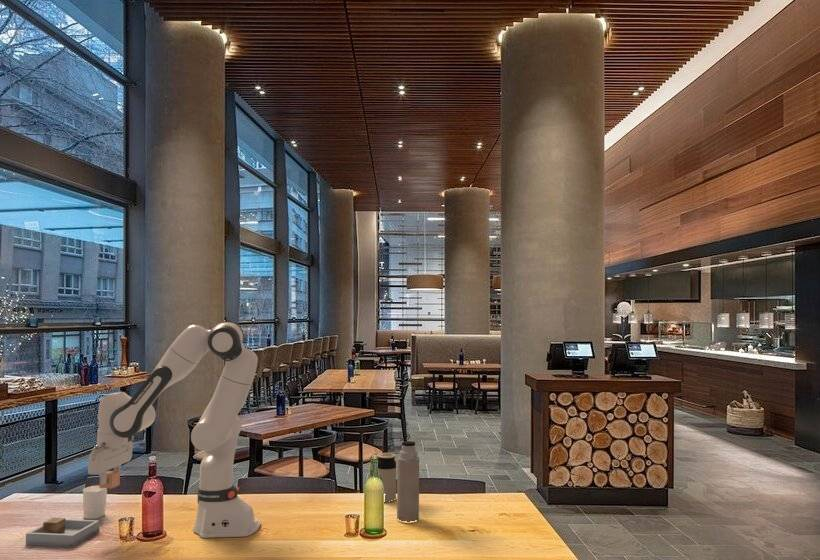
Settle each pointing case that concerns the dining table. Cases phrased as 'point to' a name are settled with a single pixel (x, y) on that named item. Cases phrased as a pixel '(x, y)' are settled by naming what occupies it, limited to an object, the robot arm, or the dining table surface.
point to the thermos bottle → (408, 483)
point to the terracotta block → (111, 480)
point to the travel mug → (388, 474)
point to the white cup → (94, 502)
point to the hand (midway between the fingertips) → (109, 481)
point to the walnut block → (54, 526)
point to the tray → (64, 534)
